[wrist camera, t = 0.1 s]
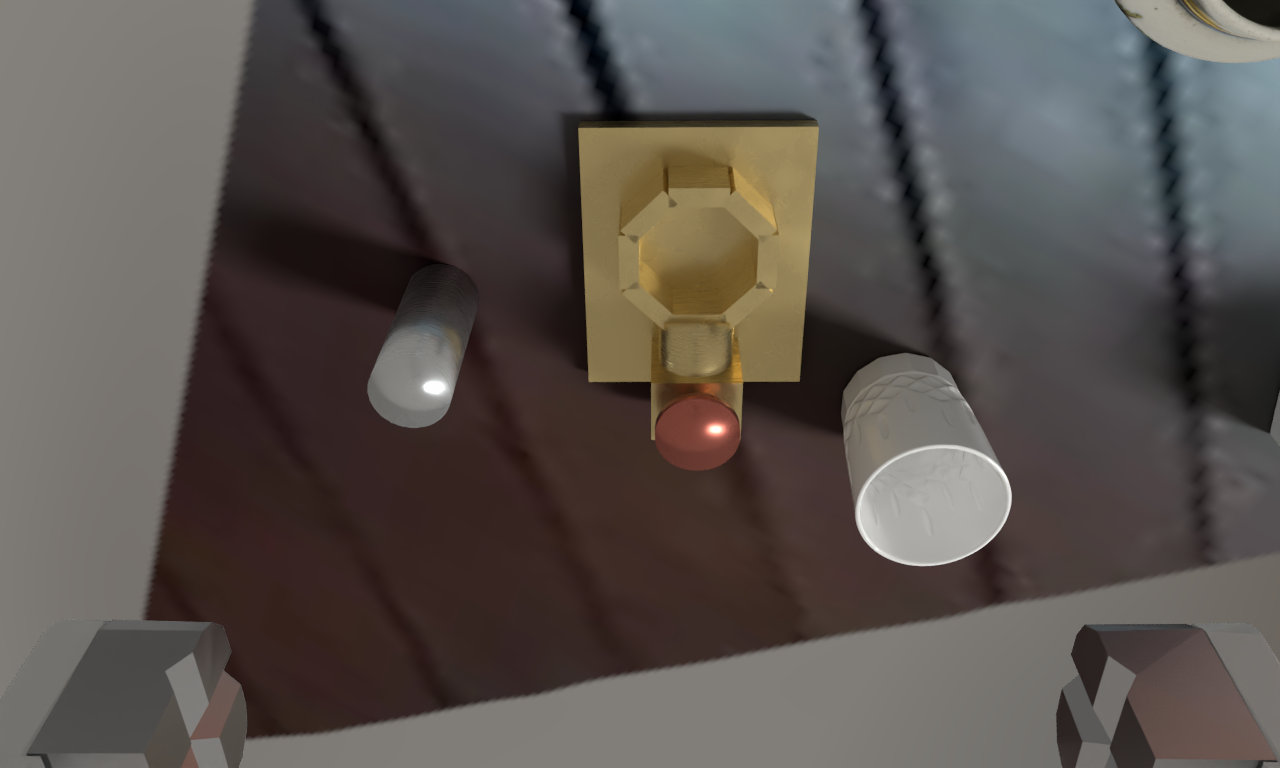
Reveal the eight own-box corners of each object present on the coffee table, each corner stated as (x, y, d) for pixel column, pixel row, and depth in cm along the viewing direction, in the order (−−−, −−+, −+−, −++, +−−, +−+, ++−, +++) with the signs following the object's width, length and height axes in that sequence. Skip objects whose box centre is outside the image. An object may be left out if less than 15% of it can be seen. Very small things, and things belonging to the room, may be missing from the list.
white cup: (921, 318, 63) (961, 418, 55) (991, 410, 67) (1039, 518, 58) (804, 391, 66) (825, 497, 58) (877, 476, 69) (907, 589, 61)
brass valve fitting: (579, 121, 58) (569, 180, 51) (816, 119, 57) (837, 179, 51) (591, 408, 67) (583, 490, 60) (795, 408, 67) (809, 490, 60)
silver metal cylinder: (402, 263, 62) (362, 357, 54) (475, 263, 62) (446, 357, 53) (411, 327, 64) (373, 427, 56) (481, 327, 64) (454, 427, 56)
